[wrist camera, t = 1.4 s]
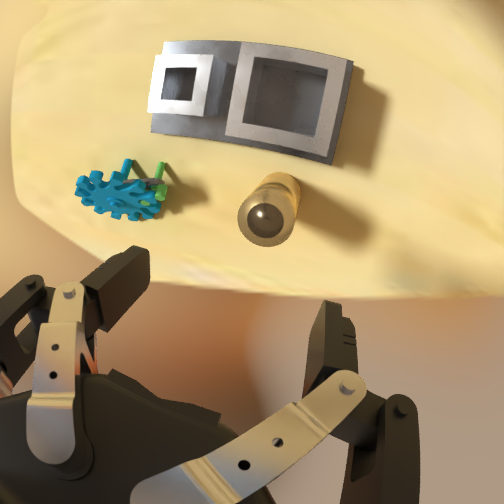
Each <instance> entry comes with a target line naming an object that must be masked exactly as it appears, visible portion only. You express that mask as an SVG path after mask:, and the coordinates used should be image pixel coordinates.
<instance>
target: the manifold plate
mask: <svg viewBox="0 0 504 504" xmlns="http://www.w3.org/2000/svg"><path fill="white" fill-rule="evenodd" d="M353 62H354V61H351V60H347V59H343V58H340V57H336V56H332V55H327V54H323V53H319V52H314V51H309V50H304V49H298V48H292V47H286V46H279V45H271V44H263V43H252V42H239V41H215V40H196V41H172V42H164V47H163V52H162V55H159V56H156V60H155V65H154V71H153V77H152V83H151V90H150V97H149V104H148V112H150V113H153V115H152V124H151V133H160V134H170V135H179V136H188V137H196V138H203V139H210V140H216V141H223V142H229V143H235V144H240V145H246V146H251V147H256V148H261V149H266V150H271V151H276V152H280V153H285V154H289V155H293V156H297V157H302V158H306V159H310V160H313V161H317V162H321V163H325V164H329V165H332V161H333V157H334V152H335V148H336V144H337V140H338V135H339V131H340V127H341V122H342V118H343V113H344V108H345V104H346V99H347V94H348V89H349V84H350V79H351V73H352V68H353Z"/></svg>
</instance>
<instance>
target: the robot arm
mask: <svg viewBox="0 0 504 504" xmlns="http://www.w3.org/2000/svg"><path fill="white" fill-rule="evenodd" d="M149 282H150V256H149V251H148V250H147V249H144V248H141V247H138V246H135V245H133V246H131V247H130V248H128V249H127V250H126V251H125V252H123V253H122V252H121V253H119V254H116V255H114V256H112V257H110V258H109V259H108V260H107V261H105V263H103V264H101V265H100V266H99V268H97V269H95V270H94V271H93V272H92V273H91V274H89V275H88V276H87V277H86V278H84V279H83V280H82V281H81V282H76V281H69V282H65V283H63V284H61V285H59V286H58V287H57V288H52V287H46V286H45V283H44V280H43V278H42V277H41V276H40V275H30V276H27V277H25V278H23V279H22V280H21V281H20V282H19V283H17V284H16V285H15V286H14V287H13V288H12V289H10V290H9V291H8V292H7V293H6V294H5V295H4V296H2V297H1V298H0V504H276V503H275V501H274V499H273V497H272V496H271V494H270V492H269V490H268V488H267V486H266V485H267V484H269V483H271V482H272V481H273V480H274V479H276V478H277V477H279V476H280V475H281V474H283V473H284V472H285V471H287V470H288V469H289V468H291V467H292V466H293V465H294V464H295V463H297V462H298V461H299V460H300V459H302V458H303V457H304V456H305V455H306V454H308V453H309V452H310V451H311V450H312V449H313V448H315V447H316V446H317V445H318V444H319V443H320V442H321V441H322V440H323V439H325V438H326V437H327V436H328V435H329V434H330V435H332V436H334V437H336V438H338V439H341V440H343V441H345V442H348V443H349V449H348V457H347V464H346V471H345V477H344V483H343V489H342V494H341V499H340V504H419V493H420V440H419V424H418V412H417V408H416V405H415V404H414V402H413V401H412V400H411V399H410V398H409V397H407V396H405V395H401V394H395V395H392V396H390V397H389V398H388V399H387V400H386V399H384V398H382V397H380V396H377V395H375V394H373V393H371V392H370V391H368V390H367V387H366V384H365V382H364V380H363V379H362V377H360V376H359V375H358V359H357V347H356V339H355V338H356V334H355V327H354V325H353V323H352V322H351V320H350V318H346V317H342V306H341V304H339V303H335V302H330V301H327V300H324V301H323V303H322V305H321V308H320V310H319V313H318V315H317V317H316V319H315V322H314V324H313V327H312V329H311V333H310V337H309V345H308V354H307V363H306V372H305V379H304V387H303V394H302V400H300V401H299V402H297V403H294V402H292V403H290V404H288V405H286V406H285V407H284V408H282V409H281V410H279V411H278V412H276V413H275V414H273V415H272V416H271V417H269V418H268V419H266V420H265V421H263V422H262V423H260V424H258V425H257V426H255V427H254V428H252V429H250V430H249V431H247V432H246V433H244V434H243V435H241V436H238V435H237V434H236V433H235V432H234V431H233V430H232V429H231V428H229V427H228V426H227V425H225V424H223V423H222V422H220V418H221V413H218V412H214V411H211V410H208V409H205V408H203V407H200V406H197V405H194V404H190V403H184V402H177V401H170V400H165V399H161V398H158V397H157V396H155V395H154V394H153V393H151V392H150V391H149V390H148V389H146V388H145V387H144V386H142V385H141V384H140V383H139V382H137V381H136V380H134V379H132V378H130V377H128V376H126V375H124V374H122V373H120V372H118V371H116V370H114V369H112V370H111V371H110V372H109V374H108V375H105V374H99V373H98V366H97V338H96V333H95V332H96V331H97V330H98V329H101V330H103V331H105V332H107V333H108V331H110V329H111V328H112V327H113V326H114V325H115V324H116V322H117V321H118V320H119V319H120V318H121V317H122V316H123V314H124V313H125V312H126V311H127V310H128V309H129V308H130V307H131V306H132V305H133V303H134V302H135V301H136V300H137V299H138V298H139V297H140V296H141V295H142V294H143V292H144V291H145V290H146V289H147V287H148V285H149ZM27 313H28V315H29V318H30V320H31V322H30V323H29V324H28V325H27V326H26V327H25V328H24V329H23V330H22V331H21V332H20V334H19V335H18V336H17V337H15V335H14V328H15V326H16V324H17V323H18V322H19V321H20V320H21V319H22V318H23V317H24V316H25V315H26V314H27ZM34 360H35V365H34V375H33V388H32V390H30V391H26V392H23V393H19V394H15V395H12V390H13V387H14V386H15V385H16V383H17V382H18V381H19V379H20V378H21V376H22V375H23V374H24V373H25V371H26V370H27V369H28V368H29V366H30V365H31V364H32V363H33V361H34Z"/></svg>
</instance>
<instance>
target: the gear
mask: <svg viewBox="0 0 504 504" xmlns="http://www.w3.org/2000/svg"><path fill="white" fill-rule="evenodd" d="M132 163H133V161H132V160H130V159H125V161H124V163H123V166H122V169H121V172H117V171H113V172H112V175H111V178H110V181H109V182H104V181H102V177H103V173H102V172H101V171H91V174H90V176H89V178H88V177H87V176H85V175H84V176H80V177H79V178H78V180H77V183H76V186H77V188H76V191H75V195H76V196H79V197H82V200H81V202H82V204H83V205H84V206H95V208H94V211H95V212H97V213H99V214H103V213H104V212H108V211H112V213H111V217H112V218H115V219H118V220H119V219H121V215H122V214H124V213H127V214H129V216H128V219H129V220H131V221H138V219H139V215H140V214H139V213H141V214H142V217H143V218H144V219H151V218H153V215H154V213H158V212H159V211H160V208H161V203H160V202H157V200H159V201H164V200H165V197H166V193H167V188H168V187H167V186H166V185H164V181H163V180H161V178H162V175H163V171H164V167H165V163H164V162H159V164H158V167H157V171H156V175H155V178H146V179H130V180H127V178H128V175H129V172H130V169H131V166H132ZM90 182H92V183H93V184H92V183H90ZM138 212H139V213H138Z"/></svg>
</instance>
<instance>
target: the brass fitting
mask: <svg viewBox="0 0 504 504" xmlns="http://www.w3.org/2000/svg"><path fill="white" fill-rule="evenodd" d="M300 197H301V189H300V186H299V184H298V182H297V181H296V179H295V178H294V177H292V176H291V175H289V174H287V173H282V172H276V173H273V174H270V175H268V176H267V177H266V178H265V179H264V180H263V181H262V182H261V183H260V184H259V185H258V187H257V188H256V189H255V190H254V191H253V192H252V193H251V194H250V195H249V196H248V198H247V199H246V200H245V201H244V202H243V203H242V205H241V207H240V209H239V211H238V225H239V228H240V230H241V232H242V234H243V235H244V236H245V237H246V238H247V239H248V240H249V241H250V242H252V243H254V244H256V245H259V246H263V247H272V246H276V245H279V244H281V243H283V242H284V241H285V240H287V239H288V237H289V236H290V235H291V233H292V230H293V227H294V223H295V219H296V214H297V210H298V206H299V201H300Z"/></svg>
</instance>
